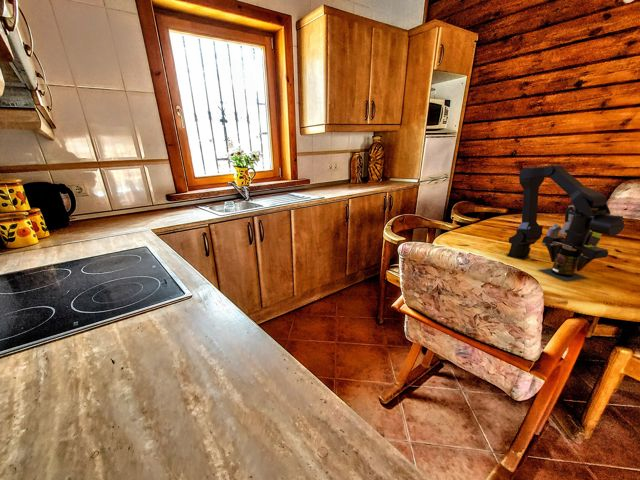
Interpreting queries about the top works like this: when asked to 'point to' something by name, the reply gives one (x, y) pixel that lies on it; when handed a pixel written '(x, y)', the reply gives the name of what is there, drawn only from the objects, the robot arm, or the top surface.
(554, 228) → the flask
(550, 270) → the mat
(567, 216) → the coffeepot
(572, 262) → the supplement container
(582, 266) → the robot arm
